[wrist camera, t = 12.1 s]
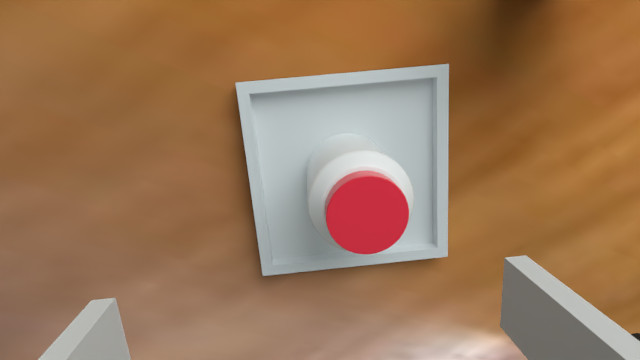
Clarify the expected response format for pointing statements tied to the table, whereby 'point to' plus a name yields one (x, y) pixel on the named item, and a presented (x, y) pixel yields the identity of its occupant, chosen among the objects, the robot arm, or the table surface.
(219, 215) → the table surface
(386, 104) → the tray
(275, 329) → the table surface
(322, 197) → the pill bottle
